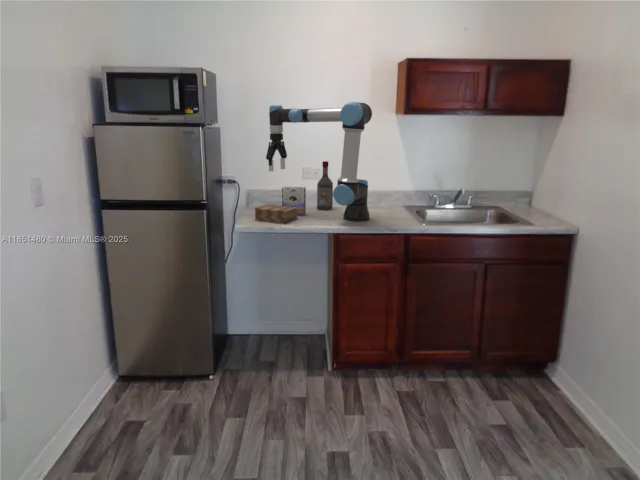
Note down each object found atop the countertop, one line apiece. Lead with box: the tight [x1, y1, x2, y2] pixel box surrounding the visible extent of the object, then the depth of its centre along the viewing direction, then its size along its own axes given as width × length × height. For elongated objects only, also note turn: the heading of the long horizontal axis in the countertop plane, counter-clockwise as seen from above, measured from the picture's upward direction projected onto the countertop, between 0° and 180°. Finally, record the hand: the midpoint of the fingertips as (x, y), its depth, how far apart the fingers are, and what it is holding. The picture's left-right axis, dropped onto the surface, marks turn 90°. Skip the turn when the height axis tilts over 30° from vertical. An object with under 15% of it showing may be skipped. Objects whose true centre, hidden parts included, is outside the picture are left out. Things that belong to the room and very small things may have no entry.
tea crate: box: [253, 203, 298, 225], centre depth 273 cm, size 20×14×7 cm
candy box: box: [281, 186, 307, 216], centre depth 288 cm, size 14×6×16 cm, turn 84°
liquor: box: [316, 160, 334, 211], centre depth 304 cm, size 9×9×30 cm
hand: (277, 170), depth 282 cm, fingers open, 13 cm apart
